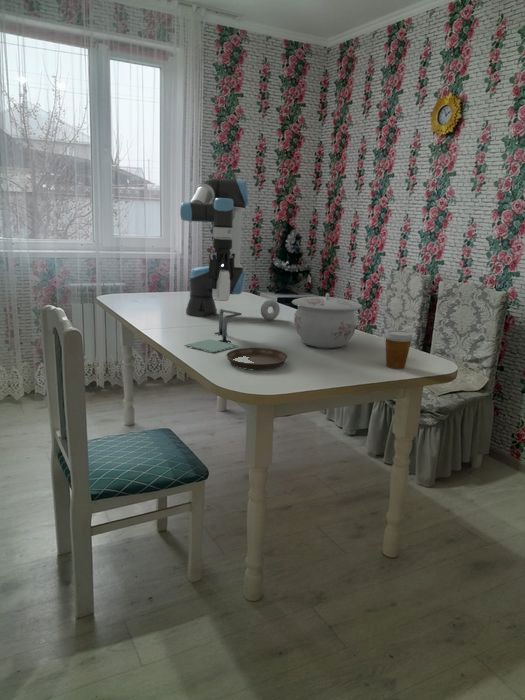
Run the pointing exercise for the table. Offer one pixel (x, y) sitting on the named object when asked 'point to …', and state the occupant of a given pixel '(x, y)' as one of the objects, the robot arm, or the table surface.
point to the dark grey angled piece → (225, 324)
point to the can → (223, 285)
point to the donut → (265, 309)
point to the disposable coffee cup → (397, 348)
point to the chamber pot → (325, 321)
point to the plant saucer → (258, 358)
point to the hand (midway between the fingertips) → (221, 296)
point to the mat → (211, 345)
